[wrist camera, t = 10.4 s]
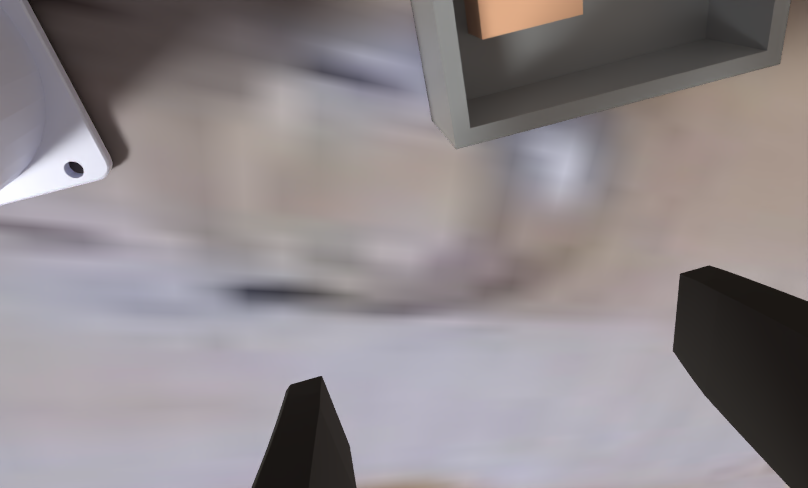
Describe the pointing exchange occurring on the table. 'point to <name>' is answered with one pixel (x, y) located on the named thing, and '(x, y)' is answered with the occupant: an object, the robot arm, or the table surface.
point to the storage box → (579, 56)
